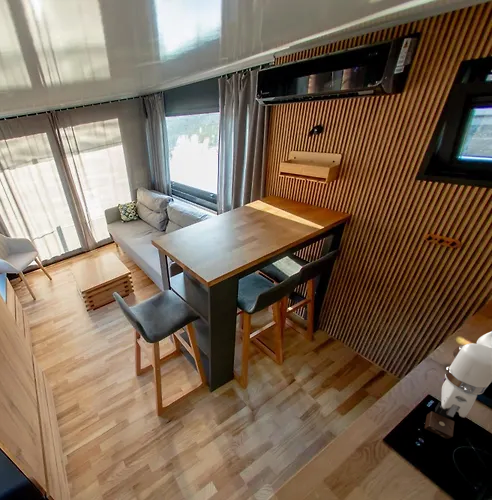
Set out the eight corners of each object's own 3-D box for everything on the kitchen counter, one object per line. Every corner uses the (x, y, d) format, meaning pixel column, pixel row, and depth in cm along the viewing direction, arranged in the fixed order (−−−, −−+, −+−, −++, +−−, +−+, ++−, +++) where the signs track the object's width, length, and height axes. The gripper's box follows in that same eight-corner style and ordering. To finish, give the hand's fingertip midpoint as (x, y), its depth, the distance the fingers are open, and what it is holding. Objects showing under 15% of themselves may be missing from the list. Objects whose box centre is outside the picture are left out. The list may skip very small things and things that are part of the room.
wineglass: (444, 371, 100) (456, 351, 95) (444, 362, 104) (456, 341, 98) (466, 380, 96) (481, 359, 91) (466, 369, 100) (480, 349, 94)
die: (448, 424, 84) (454, 421, 81) (446, 439, 82) (452, 437, 79) (426, 414, 87) (431, 411, 84) (424, 428, 86) (429, 426, 82)
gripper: (488, 407, 69) (459, 442, 77) (483, 368, 77) (458, 403, 86) (446, 390, 74) (424, 424, 82) (446, 356, 82) (426, 390, 91)
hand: (441, 414), depth 84 cm, fingers closed
